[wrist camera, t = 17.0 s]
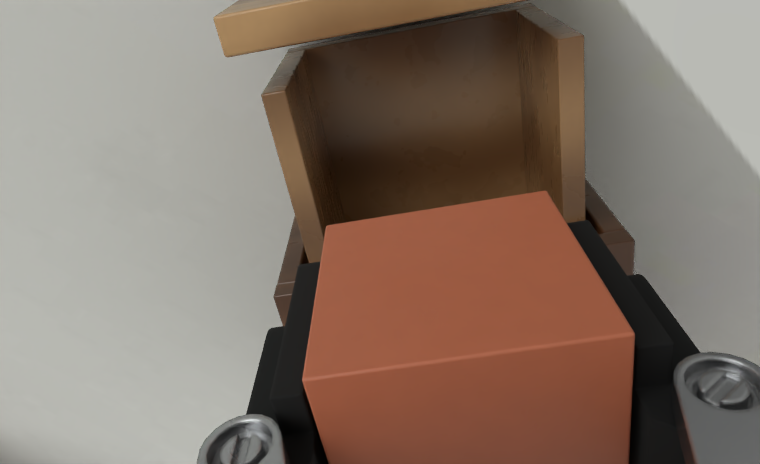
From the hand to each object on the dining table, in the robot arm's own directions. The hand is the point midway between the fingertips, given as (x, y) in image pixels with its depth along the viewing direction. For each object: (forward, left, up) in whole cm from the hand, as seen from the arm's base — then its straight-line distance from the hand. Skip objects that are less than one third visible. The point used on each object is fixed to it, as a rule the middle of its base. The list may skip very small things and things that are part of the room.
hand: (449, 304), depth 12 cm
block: (0, 0, 0) cm, 0 cm away
